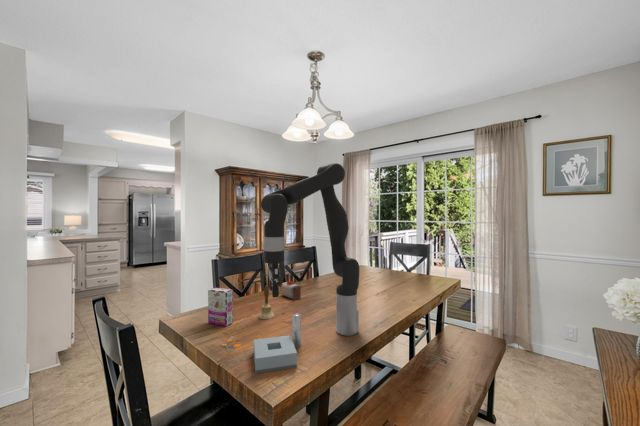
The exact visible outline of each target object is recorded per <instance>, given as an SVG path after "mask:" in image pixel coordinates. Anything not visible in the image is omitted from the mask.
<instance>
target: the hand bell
mask: <svg viewBox="0 0 640 426" xmlns="http://www.w3.org/2000/svg"><path fill="white" fill-rule="evenodd" d="M263 290H264V291H263V295H264V304H263V305H262V306H261V312H260V313H259V314H258V316H257V317H258V319H260V320H271V319H273V318H275V316H276V315H275V313H274V312H273V311H272V306H271V304H269V295H270V287H269V285H265V286H264V289H263Z"/></svg>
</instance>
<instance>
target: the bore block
mask: <svg viewBox="0 0 640 426" xmlns="http://www.w3.org/2000/svg"><path fill="white" fill-rule="evenodd" d="M253 361H254V369H255V374H263V373H268V372H273V371H275V372H276V371H281V370H287V369H294V368H298V352H297V349H296V347H295V346H294V344H293V341H292V335H283V336H281V335H280V336H273V337H265V338H258V339H253Z"/></svg>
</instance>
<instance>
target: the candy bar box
mask: <svg viewBox="0 0 640 426" xmlns="http://www.w3.org/2000/svg"><path fill="white" fill-rule="evenodd" d="M233 292H234V291H233V289H231V288H223V287H213V288H209V289H208V291H207V297H208V299H207V301H208V303H207V304H208V305H207V307H208V308H207V309H208V315H207V316H208V318H207V319H208V321H207V322H208V324H210V325H216V326H221V327H228V326H230V325H232V324H233V322H234V312H233V311H234V308H233V307H234V302H233V301H234V298H233V296H234V293H233Z"/></svg>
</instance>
